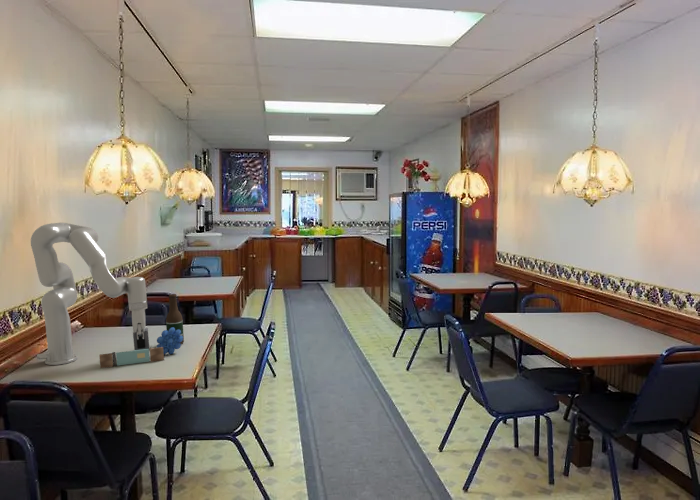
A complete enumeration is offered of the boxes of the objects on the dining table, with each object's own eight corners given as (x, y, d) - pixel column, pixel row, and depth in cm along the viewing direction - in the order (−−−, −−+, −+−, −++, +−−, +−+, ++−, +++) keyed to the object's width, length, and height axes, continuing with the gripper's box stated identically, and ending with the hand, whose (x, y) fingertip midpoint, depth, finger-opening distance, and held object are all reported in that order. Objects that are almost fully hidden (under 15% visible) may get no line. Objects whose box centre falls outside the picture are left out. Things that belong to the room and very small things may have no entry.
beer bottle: (179, 346, 254) (175, 295, 252) (164, 345, 256) (160, 295, 253) (187, 341, 262) (184, 292, 259) (172, 341, 263) (169, 292, 261)
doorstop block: (134, 352, 235) (132, 332, 234) (134, 349, 239) (133, 329, 238) (149, 350, 237) (147, 330, 236) (149, 347, 241) (147, 328, 240)
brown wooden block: (100, 368, 225) (99, 354, 224) (100, 367, 226) (99, 353, 225) (164, 360, 233) (163, 346, 233) (163, 359, 234) (163, 346, 234)
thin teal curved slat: (117, 365, 227) (116, 353, 226) (117, 364, 228) (116, 352, 227) (149, 361, 231) (148, 349, 231) (149, 360, 232) (148, 348, 232)
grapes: (182, 349, 248) (181, 324, 247) (185, 353, 242) (183, 327, 241) (155, 353, 243) (154, 327, 242) (157, 357, 237) (155, 330, 236)
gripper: (129, 303, 242) (132, 342, 244) (128, 310, 227) (131, 352, 228) (147, 301, 245) (150, 340, 247) (147, 308, 229) (150, 350, 231)
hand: (141, 345), depth 238 cm, fingers closed on doorstop block, 5 cm apart
